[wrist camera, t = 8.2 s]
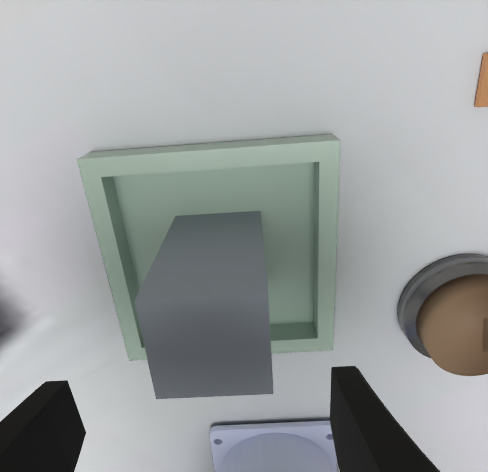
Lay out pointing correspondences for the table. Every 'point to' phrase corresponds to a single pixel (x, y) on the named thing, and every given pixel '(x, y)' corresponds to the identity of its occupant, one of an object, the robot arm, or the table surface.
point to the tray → (225, 201)
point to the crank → (457, 325)
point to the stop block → (208, 308)
